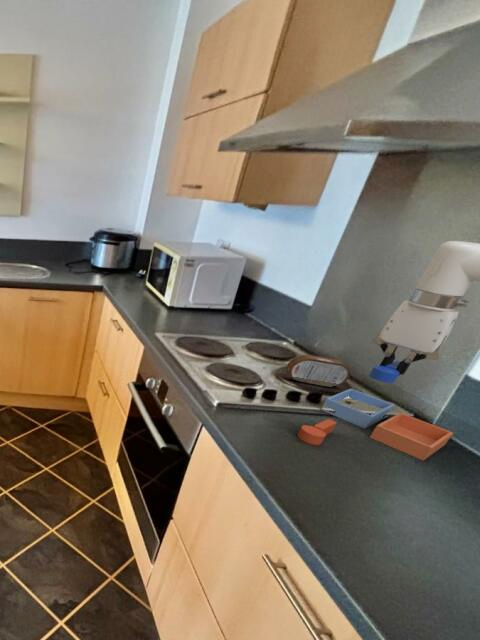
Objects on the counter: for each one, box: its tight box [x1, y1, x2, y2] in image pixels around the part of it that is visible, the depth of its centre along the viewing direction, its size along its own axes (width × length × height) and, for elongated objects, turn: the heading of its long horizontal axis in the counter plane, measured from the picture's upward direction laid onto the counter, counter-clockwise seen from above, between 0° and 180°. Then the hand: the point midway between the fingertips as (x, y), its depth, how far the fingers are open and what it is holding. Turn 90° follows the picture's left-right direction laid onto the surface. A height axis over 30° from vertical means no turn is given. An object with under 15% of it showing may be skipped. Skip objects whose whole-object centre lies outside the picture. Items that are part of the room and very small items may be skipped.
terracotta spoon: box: [296, 418, 338, 446], centre depth 97 cm, size 5×11×3 cm, turn 119°
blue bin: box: [320, 388, 396, 429], centre depth 108 cm, size 10×14×4 cm
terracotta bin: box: [369, 412, 454, 461], centre depth 97 cm, size 10×14×4 cm
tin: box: [285, 354, 351, 386], centre depth 122 cm, size 15×3×8 cm, turn 71°
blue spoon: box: [368, 360, 402, 384], centre depth 100 cm, size 5×11×3 cm, turn 120°
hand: (389, 373), depth 101 cm, fingers closed on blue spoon
